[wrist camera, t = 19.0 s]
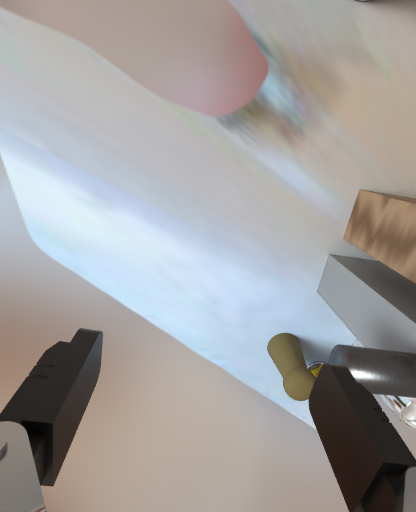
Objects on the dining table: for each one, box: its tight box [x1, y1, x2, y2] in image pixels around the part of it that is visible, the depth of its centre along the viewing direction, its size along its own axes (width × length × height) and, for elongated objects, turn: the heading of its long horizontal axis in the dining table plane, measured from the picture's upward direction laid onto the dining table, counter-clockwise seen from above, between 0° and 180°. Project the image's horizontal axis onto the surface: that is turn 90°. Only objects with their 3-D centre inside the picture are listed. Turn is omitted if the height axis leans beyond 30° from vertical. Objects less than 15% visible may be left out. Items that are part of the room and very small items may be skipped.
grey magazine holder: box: [317, 254, 416, 400], centre depth 41 cm, size 7×14×24 cm, turn 81°
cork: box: [267, 333, 316, 401], centre depth 51 cm, size 6×6×11 cm
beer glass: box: [352, 339, 416, 430], centre depth 50 cm, size 7×7×15 cm
